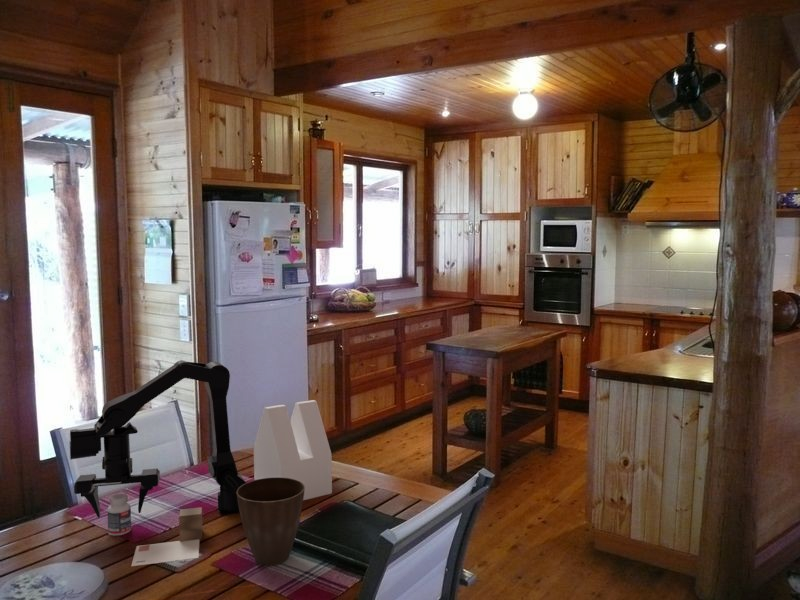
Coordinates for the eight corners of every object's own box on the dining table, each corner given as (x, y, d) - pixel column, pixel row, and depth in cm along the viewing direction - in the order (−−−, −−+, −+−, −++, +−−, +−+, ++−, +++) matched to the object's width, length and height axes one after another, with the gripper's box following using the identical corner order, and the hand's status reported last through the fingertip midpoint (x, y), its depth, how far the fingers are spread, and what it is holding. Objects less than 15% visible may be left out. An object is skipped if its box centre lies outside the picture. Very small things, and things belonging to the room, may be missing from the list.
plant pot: (248, 542, 153) (246, 476, 152) (310, 543, 152) (309, 477, 151) (229, 574, 138) (227, 501, 137) (299, 575, 138) (297, 502, 136)
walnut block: (202, 531, 159) (201, 507, 159) (201, 538, 154) (201, 513, 154) (181, 534, 158) (180, 509, 157) (179, 541, 153) (179, 516, 153)
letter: (199, 539, 154) (199, 538, 154) (198, 558, 145) (198, 557, 145) (136, 547, 151) (136, 545, 151) (131, 567, 141) (131, 565, 141)
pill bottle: (122, 537, 156) (121, 501, 155) (103, 535, 157) (102, 500, 156) (135, 528, 161) (134, 493, 160) (117, 526, 162) (115, 492, 161)
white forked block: (332, 493, 184) (330, 407, 182) (281, 506, 175) (280, 415, 173) (301, 474, 199) (300, 394, 197) (254, 484, 191) (252, 401, 189)
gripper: (160, 440, 168) (162, 498, 169) (81, 446, 163) (84, 506, 164) (156, 453, 157) (158, 515, 158) (72, 460, 152) (75, 524, 153)
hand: (119, 514), depth 159 cm, fingers open, 9 cm apart
